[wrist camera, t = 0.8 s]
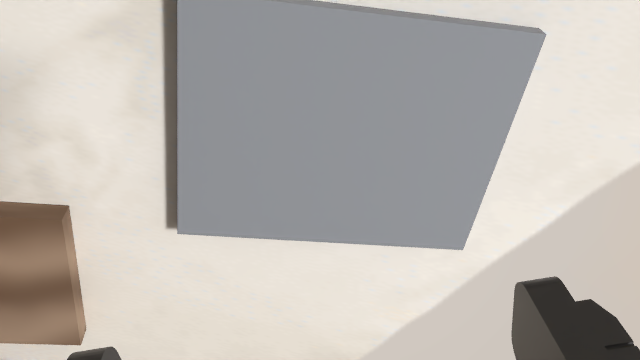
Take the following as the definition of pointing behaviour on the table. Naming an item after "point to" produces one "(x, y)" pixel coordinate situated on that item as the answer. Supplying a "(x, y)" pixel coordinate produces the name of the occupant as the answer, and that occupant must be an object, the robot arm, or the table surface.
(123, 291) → the table surface
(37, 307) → the brown pedestal stand
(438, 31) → the rubber mat
